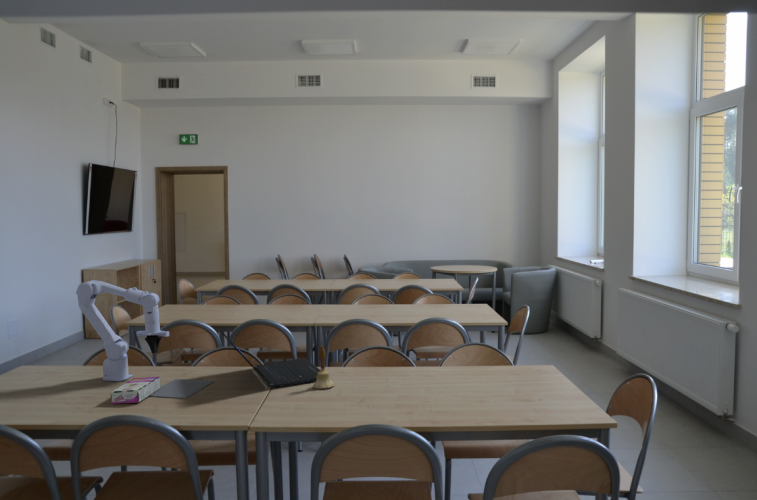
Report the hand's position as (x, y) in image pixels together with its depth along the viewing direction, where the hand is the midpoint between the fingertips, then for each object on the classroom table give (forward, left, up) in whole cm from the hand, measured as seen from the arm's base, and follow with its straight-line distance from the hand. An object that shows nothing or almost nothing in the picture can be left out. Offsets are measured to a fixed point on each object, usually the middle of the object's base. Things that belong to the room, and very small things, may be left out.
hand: (154, 352), depth 231 cm
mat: (+21, -13, -10) cm, 27 cm away
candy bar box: (+8, -16, -8) cm, 19 cm away
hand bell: (+77, -1, -10) cm, 78 cm away
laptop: (+52, +8, -11) cm, 53 cm away
